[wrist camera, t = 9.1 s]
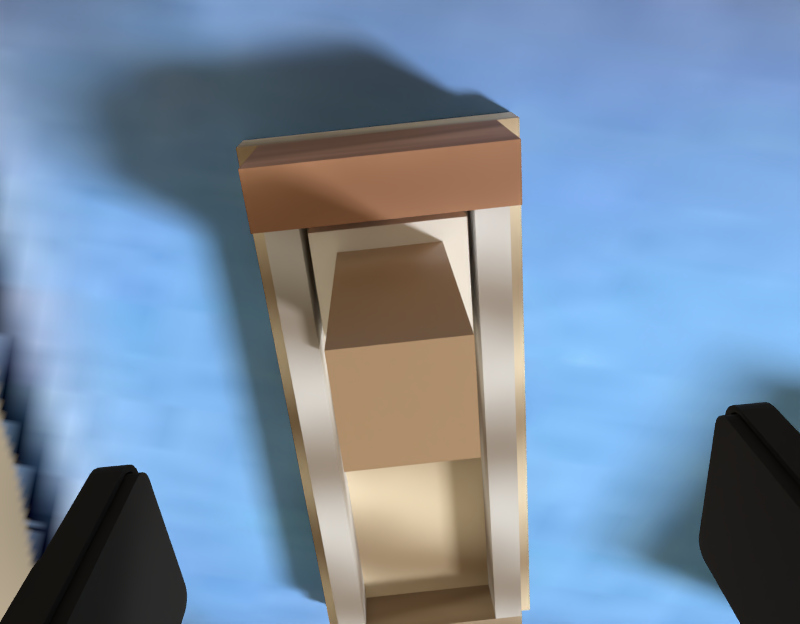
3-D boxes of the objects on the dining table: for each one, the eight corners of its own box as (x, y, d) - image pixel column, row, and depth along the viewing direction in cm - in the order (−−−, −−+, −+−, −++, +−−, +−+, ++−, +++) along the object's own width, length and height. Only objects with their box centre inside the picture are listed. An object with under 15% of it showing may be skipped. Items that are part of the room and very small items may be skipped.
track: (243, 140, 24) (211, 172, 19) (510, 111, 24) (547, 136, 19) (332, 606, 34) (327, 707, 29) (523, 585, 34) (550, 683, 29)
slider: (314, 209, 24) (282, 325, 15) (455, 193, 24) (509, 301, 15) (333, 331, 26) (315, 498, 17) (463, 317, 26) (515, 477, 17)
